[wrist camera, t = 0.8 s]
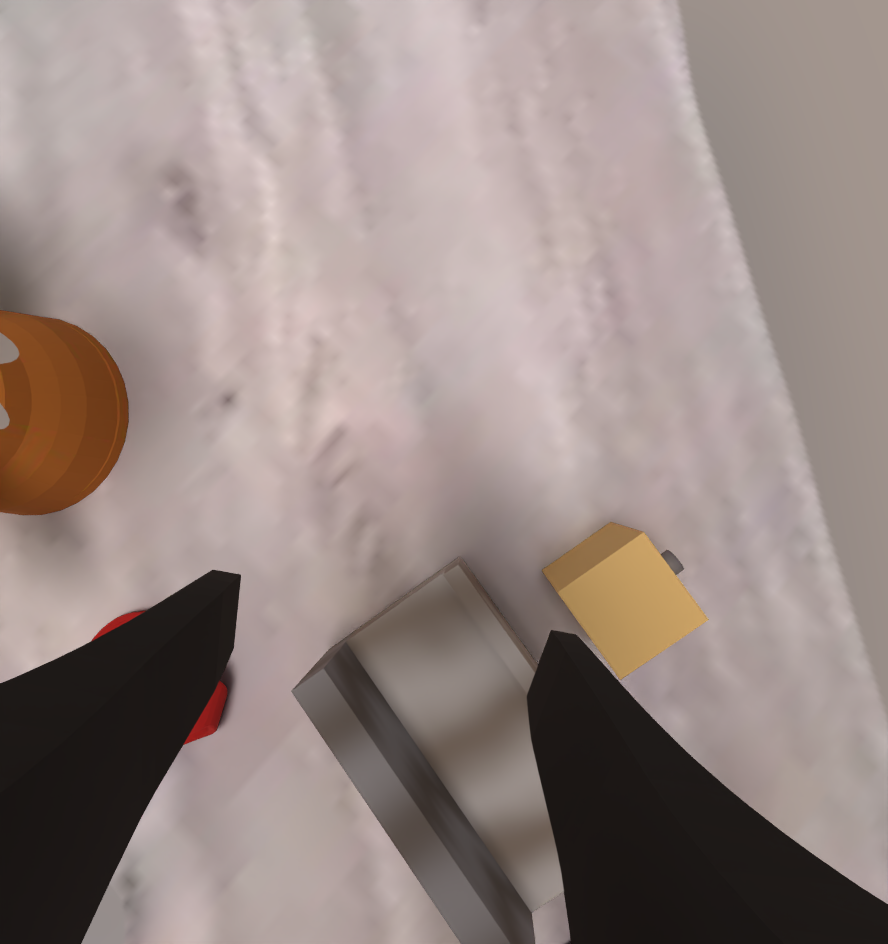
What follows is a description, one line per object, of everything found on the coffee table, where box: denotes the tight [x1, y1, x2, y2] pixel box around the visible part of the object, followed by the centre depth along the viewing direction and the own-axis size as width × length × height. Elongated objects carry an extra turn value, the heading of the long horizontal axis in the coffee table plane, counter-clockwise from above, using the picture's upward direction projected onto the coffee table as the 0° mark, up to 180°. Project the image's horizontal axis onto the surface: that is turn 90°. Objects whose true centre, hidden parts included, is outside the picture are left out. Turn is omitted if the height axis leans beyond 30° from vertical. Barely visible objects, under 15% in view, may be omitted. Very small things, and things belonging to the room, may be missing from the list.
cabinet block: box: [542, 522, 709, 680], centre depth 26 cm, size 5×6×6 cm
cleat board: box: [291, 557, 564, 944], centre depth 26 cm, size 18×10×6 cm, turn 36°
